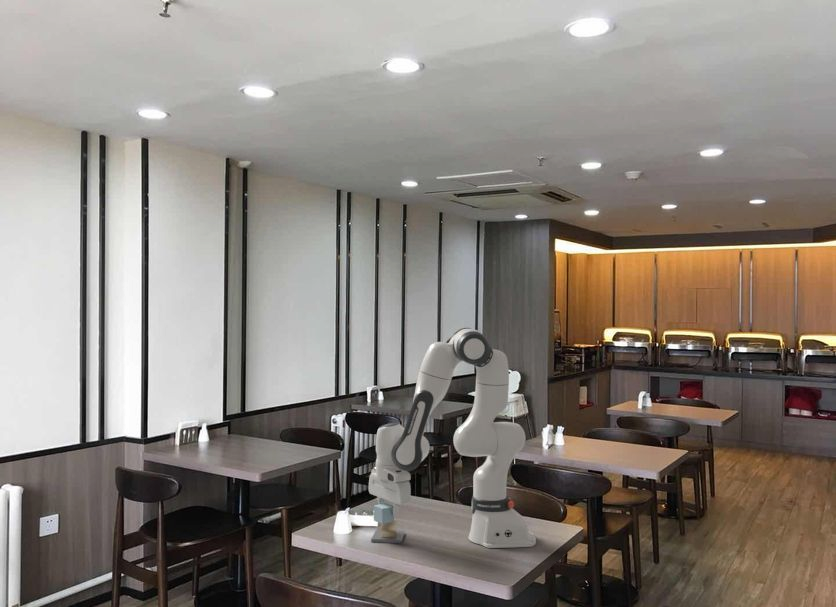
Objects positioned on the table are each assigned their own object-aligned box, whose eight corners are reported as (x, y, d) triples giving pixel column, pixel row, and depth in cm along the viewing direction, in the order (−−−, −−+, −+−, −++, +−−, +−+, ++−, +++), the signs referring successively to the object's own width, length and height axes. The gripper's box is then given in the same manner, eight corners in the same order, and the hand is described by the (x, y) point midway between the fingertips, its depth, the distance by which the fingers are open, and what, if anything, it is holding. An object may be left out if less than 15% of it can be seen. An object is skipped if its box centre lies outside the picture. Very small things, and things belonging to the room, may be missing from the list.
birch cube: (395, 532, 230) (395, 517, 230) (396, 537, 225) (396, 521, 225) (381, 532, 230) (381, 517, 230) (381, 537, 225) (381, 522, 225)
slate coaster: (404, 533, 232) (404, 530, 232) (401, 543, 222) (401, 540, 222) (376, 532, 233) (376, 529, 233) (371, 542, 223) (371, 539, 223)
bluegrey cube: (394, 521, 226) (394, 506, 226) (382, 524, 223) (382, 508, 223) (386, 517, 230) (386, 503, 230) (373, 520, 227) (373, 505, 227)
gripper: (364, 467, 235) (364, 507, 234) (398, 478, 218) (398, 521, 218) (379, 464, 238) (379, 504, 238) (413, 475, 222) (413, 518, 222)
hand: (388, 512), depth 228 cm, fingers open, 6 cm apart
